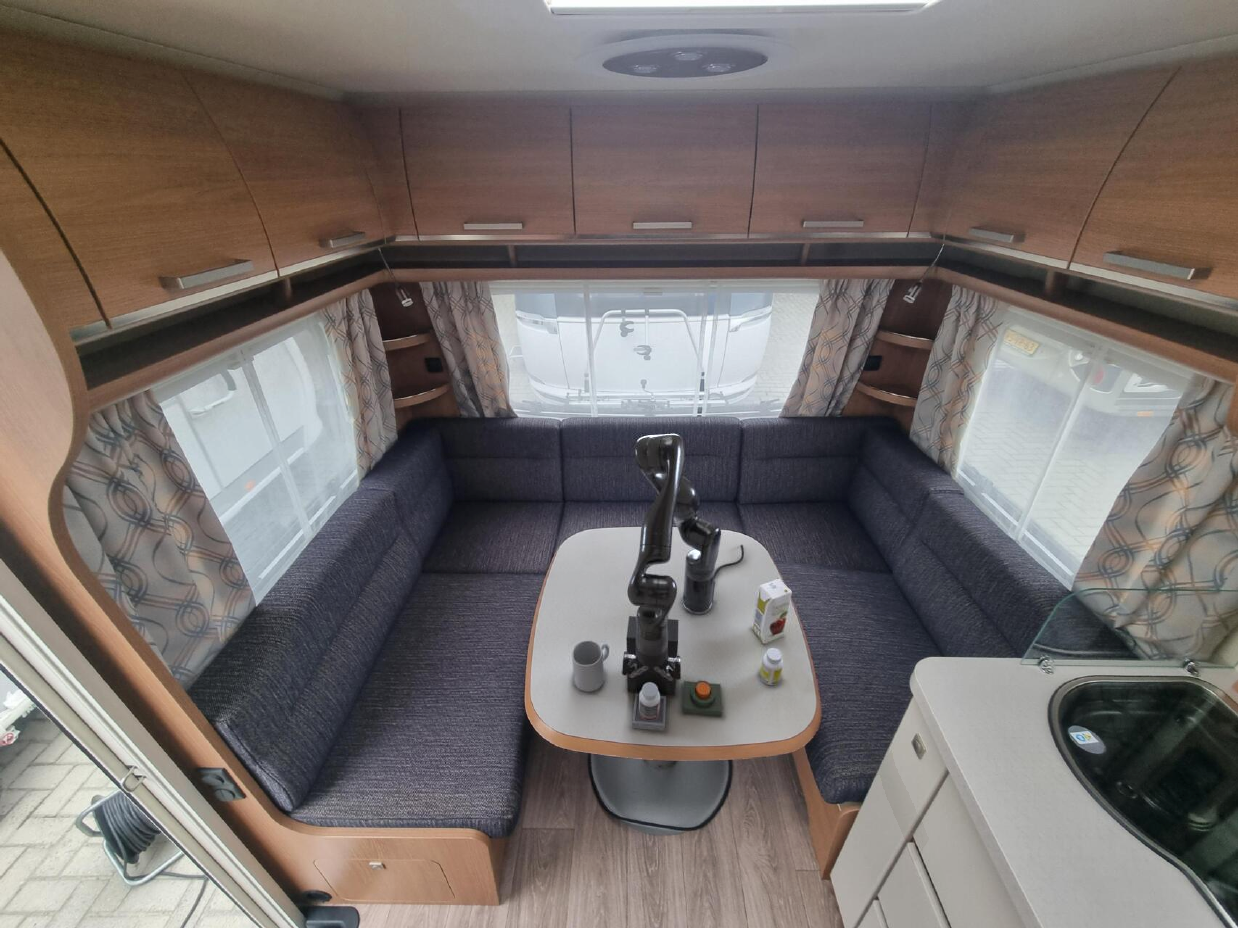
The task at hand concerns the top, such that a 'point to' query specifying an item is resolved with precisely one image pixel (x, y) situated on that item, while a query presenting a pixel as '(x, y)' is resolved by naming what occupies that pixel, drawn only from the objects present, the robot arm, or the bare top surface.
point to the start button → (703, 690)
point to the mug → (589, 664)
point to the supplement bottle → (771, 666)
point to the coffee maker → (651, 675)
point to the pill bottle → (649, 702)
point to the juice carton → (771, 610)
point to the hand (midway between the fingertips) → (651, 684)
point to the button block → (700, 705)
